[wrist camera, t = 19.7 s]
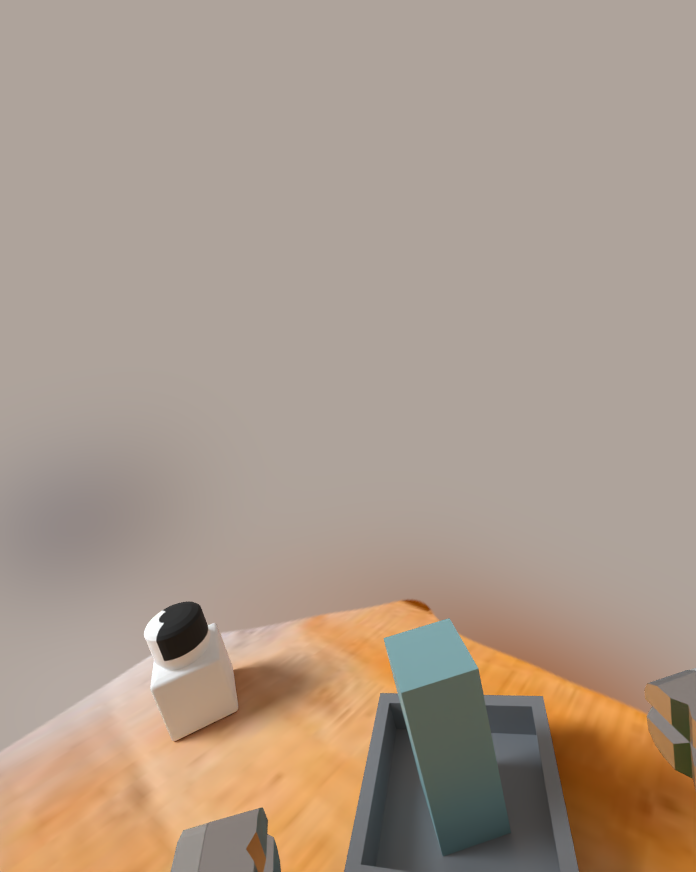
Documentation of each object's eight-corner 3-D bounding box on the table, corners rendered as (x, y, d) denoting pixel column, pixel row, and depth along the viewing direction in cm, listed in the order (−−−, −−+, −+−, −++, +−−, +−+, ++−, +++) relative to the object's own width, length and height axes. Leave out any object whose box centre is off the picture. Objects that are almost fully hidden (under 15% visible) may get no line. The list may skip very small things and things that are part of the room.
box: (356, 924, 28) (342, 881, 27) (389, 726, 41) (380, 693, 40) (596, 969, 24) (589, 920, 23) (548, 733, 37) (542, 696, 36)
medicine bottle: (233, 668, 54) (203, 586, 51) (239, 711, 47) (205, 619, 44) (174, 695, 52) (139, 611, 49) (172, 744, 45) (131, 649, 42)
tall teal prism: (442, 856, 30) (400, 693, 26) (421, 784, 34) (383, 638, 31) (510, 832, 30) (478, 668, 27) (480, 764, 35) (449, 618, 31)
